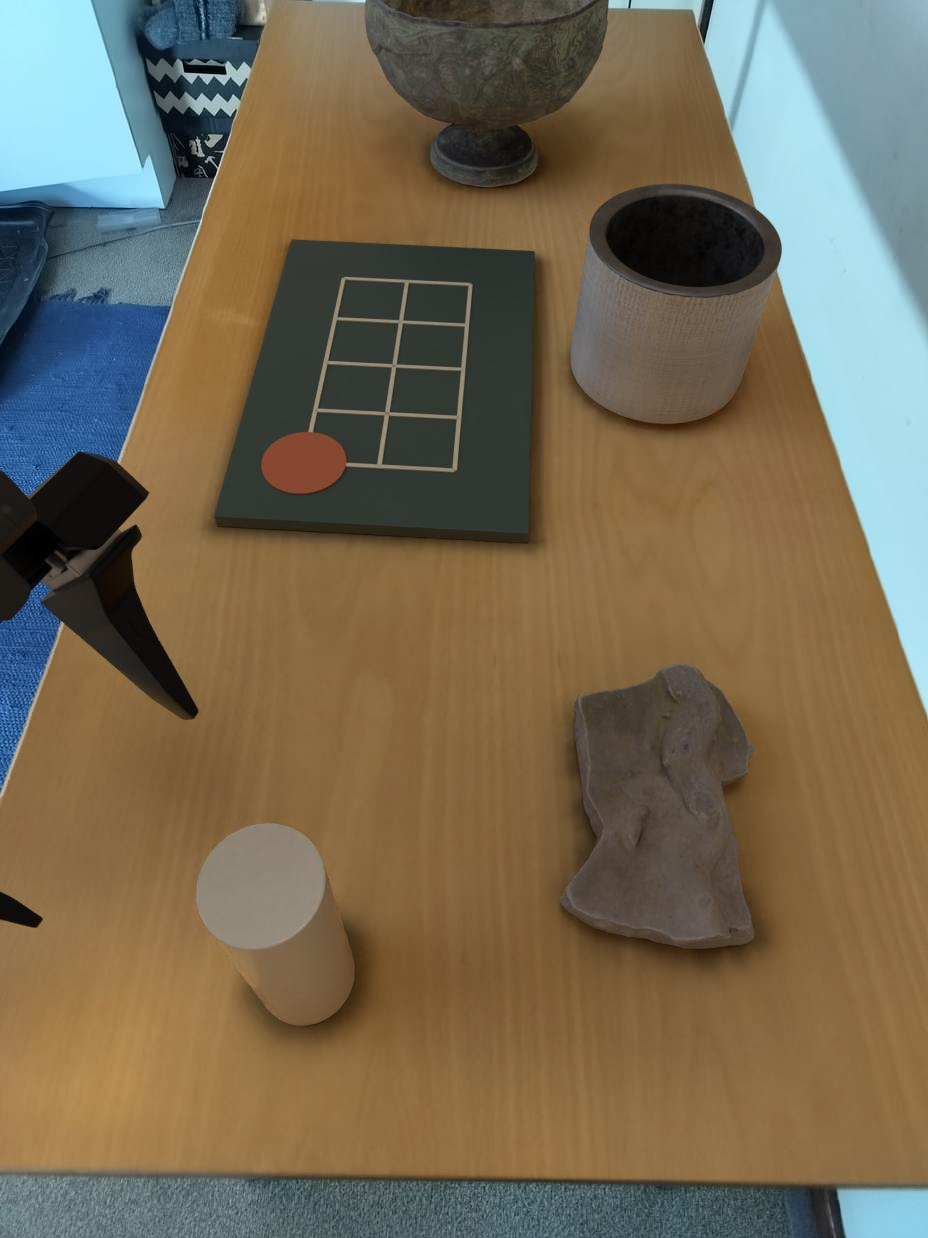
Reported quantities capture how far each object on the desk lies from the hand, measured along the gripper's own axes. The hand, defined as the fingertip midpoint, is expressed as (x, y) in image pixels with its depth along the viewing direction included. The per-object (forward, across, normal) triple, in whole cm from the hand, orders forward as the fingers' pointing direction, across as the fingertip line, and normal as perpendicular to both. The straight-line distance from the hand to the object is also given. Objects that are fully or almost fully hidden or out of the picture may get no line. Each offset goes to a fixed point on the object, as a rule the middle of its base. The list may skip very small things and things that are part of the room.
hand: (120, 812), depth 35 cm
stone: (+22, +15, -4) cm, 27 cm away
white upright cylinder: (+13, 0, +4) cm, 14 cm away
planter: (+14, +48, +4) cm, 50 cm away
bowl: (-4, +69, +21) cm, 72 cm away
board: (+2, +39, +16) cm, 42 cm away
